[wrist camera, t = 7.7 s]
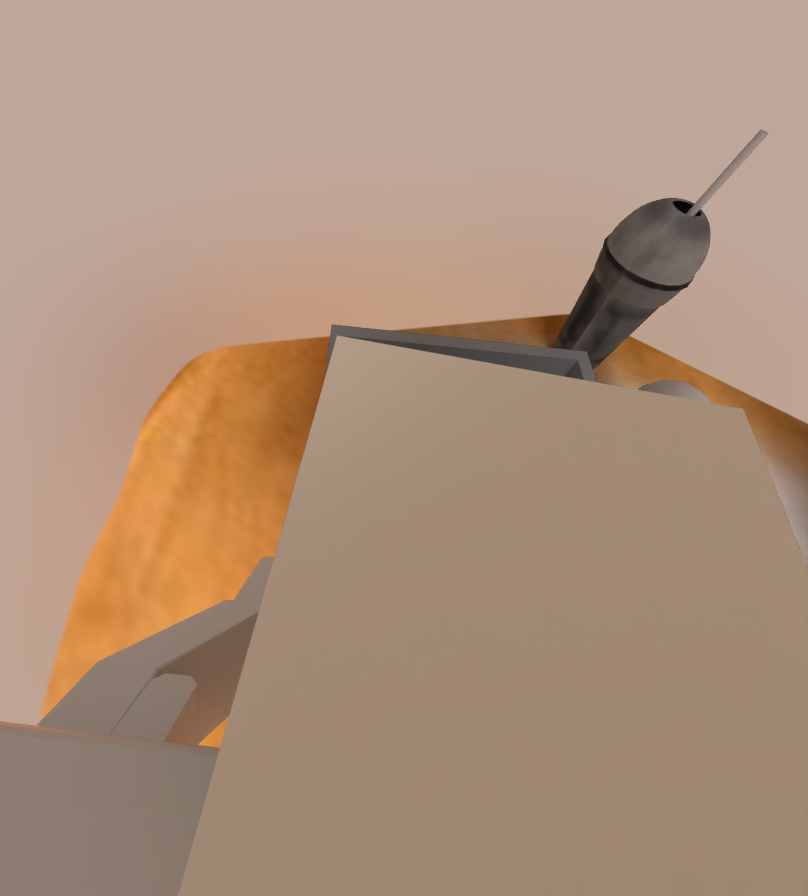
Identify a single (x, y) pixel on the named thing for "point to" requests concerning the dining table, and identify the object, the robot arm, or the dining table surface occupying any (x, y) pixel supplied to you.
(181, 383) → the dining table surface
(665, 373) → the dining table surface
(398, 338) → the box
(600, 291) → the beverage cup
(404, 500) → the juice carton
